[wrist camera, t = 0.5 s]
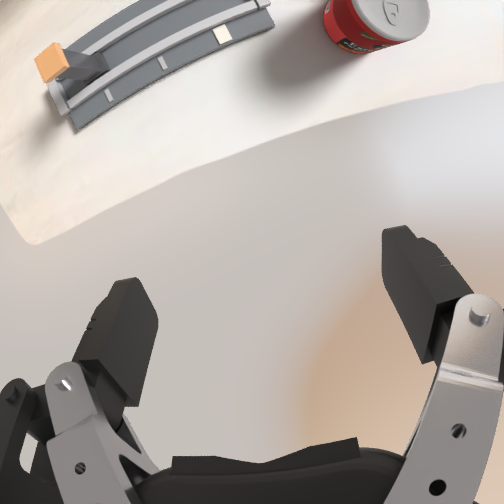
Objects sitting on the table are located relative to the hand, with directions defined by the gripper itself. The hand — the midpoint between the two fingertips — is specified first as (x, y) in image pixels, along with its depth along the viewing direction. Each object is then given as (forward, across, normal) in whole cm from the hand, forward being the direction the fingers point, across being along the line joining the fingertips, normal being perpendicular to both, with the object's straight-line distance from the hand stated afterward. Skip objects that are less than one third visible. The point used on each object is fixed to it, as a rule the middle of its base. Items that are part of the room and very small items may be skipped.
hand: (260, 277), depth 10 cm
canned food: (+30, -14, -10) cm, 34 cm away
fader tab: (+27, +15, -12) cm, 33 cm away
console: (+29, +8, -13) cm, 33 cm away
